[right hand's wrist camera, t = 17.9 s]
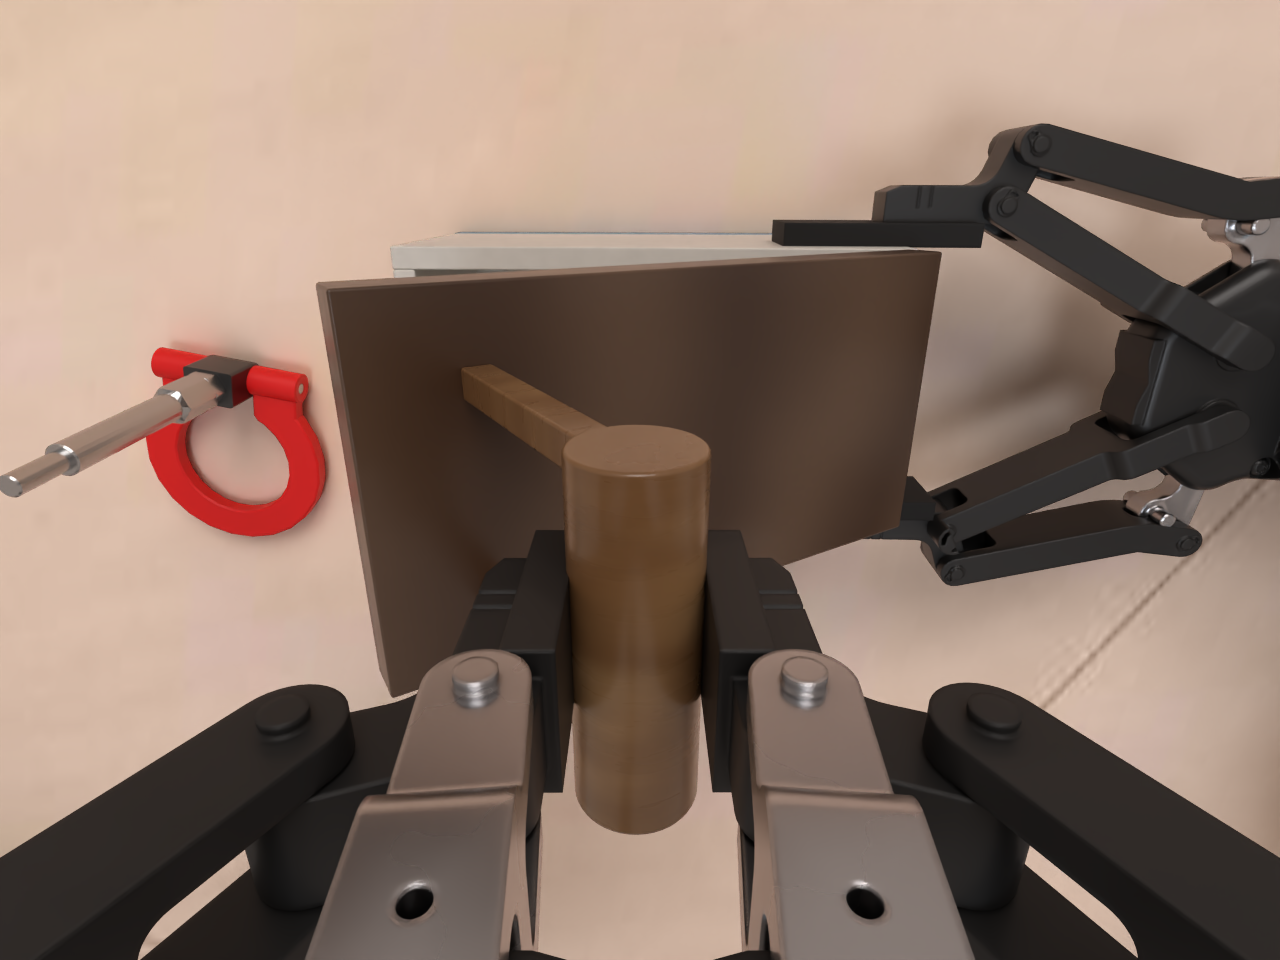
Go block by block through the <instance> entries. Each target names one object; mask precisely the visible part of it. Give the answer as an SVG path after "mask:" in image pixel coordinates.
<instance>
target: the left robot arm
mask: <svg viewBox="0 0 1280 960" xmlns="http://www.w3.org/2000/svg"><path fill="white" fill-rule="evenodd" d="M988 156H989V158H988V159H987V161H986V163H985V165H984V167H983V169H982V171H981V172H980V174H979V175H978V176H977V177H976V178H975V179H974V180H973V181H971V182H970V183H968V184H965V185H895V186H888V187H886V188H883V189H881V190H878V191H876V192H875V196H874V204H873V213H872V220H773V228H772V241H773V242H775V243H777V244H779V245H782V246H851V247H924V248H981V244H982V238H983V233H984V232H986V233H988V234H989V235H991V236H993V237H994V238H996V239H998V240H999V241H1001V242H1003V243H1004V244H1006V245H1007V246H1009V247H1011V248H1012V249H1014V250H1016V251H1017V252H1019V253H1021V254H1022V255H1024V256H1026V257H1027V258H1029V259H1030V260H1032V261H1034V262H1035V263H1037V264H1039V265H1040V266H1042V267H1044V268H1045V269H1047V270H1048V271H1050V272H1052V273H1053V274H1055V275H1057V276H1058V277H1060V278H1062V279H1063V280H1065V281H1067V282H1068V283H1070V284H1071V285H1073V286H1075V287H1076V288H1078V289H1080V290H1081V291H1083V292H1085V293H1086V294H1088V295H1090V296H1091V297H1093V298H1094V299H1096V300H1098V301H1099V302H1100V303H1101V305H1102V306H1103V307H1105V308H1106V309H1108V310H1110V311H1111V312H1113V313H1115V314H1116V315H1118V316H1120V317H1121V318H1123V319H1124V320H1126V321H1128V322H1129V323H1131V325H1130V327H1129V328H1128V330H1120V333H1119V337H1118V341H1117V344H1116V348H1115V372H1114V374H1113V376H1112V378H1111V380H1110V382H1109V384H1108V385H1107V387H1106V389H1105V391H1104V395H1103V399H1102V403H1101V407H1100V410H1102V411H1101V412H1098V413H1096V414H1094V415H1091V416H1089V417H1087V418H1085V419H1082V420H1080V421H1078V422H1076V423H1074V424H1073V425H1072V426H1071V427H1070V431H1068V432H1067V433H1065V434H1063V435H1060V436H1058V437H1056V438H1053V439H1051V440H1049V441H1046V442H1044V443H1042V444H1039V445H1037V446H1035V447H1032V448H1030V449H1028V450H1025V451H1023V452H1021V453H1018V454H1016V455H1014V456H1011V457H1009V458H1007V459H1004V460H1002V461H1000V462H997V463H995V464H993V465H990V466H988V467H986V468H983V469H981V470H979V471H976V472H974V473H972V474H969V475H967V476H965V477H962V478H960V479H958V480H955V481H953V482H951V483H948V484H946V485H944V486H941V487H939V488H937V489H934V490H932V491H930V492H926V491H925V490H924V488H923V487H922V486H921V485H920V484H919V483H918V482H917V481H916V479H915V478H914V477H913V476H907V479H906V485H905V491H904V498H903V504H902V511H901V517H900V523H899V526H898V527H896V528H893V529H890V530H887V531H884V532H881V533H878V534H875V535H872V536H869V537H866V538H863V539H870V538H871V539H901V540H920V541H921V546H920V548H921V551H922V553H923V554H924V556H925V557H926V559H927V560H928V561H929V563H930V564H931V566H932V567H933V568H934V570H935V571H936V573H937V574H938V575H939V577H940V578H941V579H942V581H943V582H944V583H945V584H947V585H950V586H958V585H964V584H969V583H974V582H980V581H985V580H990V579H996V578H1001V577H1006V576H1012V575H1017V574H1022V573H1028V572H1033V571H1038V570H1044V569H1049V568H1055V567H1060V566H1065V565H1071V564H1076V563H1081V562H1087V561H1092V560H1097V559H1103V558H1108V557H1113V556H1119V555H1124V554H1129V553H1135V552H1142V553H1151V554H1159V555H1168V556H1177V557H1184V556H1188V555H1191V554H1193V553H1194V552H1196V551H1197V550H1198V549H1199V547H1200V546H1201V543H1202V536H1201V534H1200V533H1199V532H1198V531H1197V530H1195V529H1194V528H1192V527H1190V526H1189V523H1190V521H1191V519H1192V517H1193V515H1194V512H1195V510H1196V508H1197V506H1198V503H1199V501H1200V499H1201V497H1202V494H1203V492H1204V490H1210V489H1214V488H1217V487H1220V486H1222V485H1224V484H1227V483H1229V482H1232V481H1236V480H1239V479H1245V478H1252V479H1266V480H1280V177H1247V178H1235V177H1232V176H1228V175H1225V174H1221V173H1218V172H1214V171H1211V170H1207V169H1204V168H1200V167H1197V166H1193V165H1190V164H1186V163H1183V162H1179V161H1176V160H1172V159H1169V158H1165V157H1162V156H1159V155H1155V154H1152V153H1148V152H1145V151H1141V150H1138V149H1134V148H1131V147H1127V146H1124V145H1120V144H1117V143H1113V142H1110V141H1106V140H1103V139H1099V138H1096V137H1092V136H1089V135H1086V134H1082V133H1079V132H1075V131H1072V130H1068V129H1065V128H1061V127H1058V126H1054V125H1051V124H1036V125H1030V126H1025V127H1020V128H1014V129H1009V130H1005V131H1002V132H1000V133H998V134H997V135H996V136H995V137H994V138H993V139H992V141H991V143H990V144H989V149H988ZM1035 178H1038V179H1041V180H1045V181H1048V182H1052V183H1055V184H1059V185H1062V186H1066V187H1069V188H1073V189H1077V190H1080V191H1084V192H1087V193H1091V194H1094V195H1098V196H1101V197H1105V198H1109V199H1112V200H1116V201H1119V202H1123V203H1126V204H1130V205H1133V206H1137V207H1140V208H1144V209H1148V210H1151V211H1155V212H1158V213H1162V214H1165V215H1170V216H1174V217H1181V218H1195V219H1203V221H1202V224H1201V228H1202V229H1203V231H1205V232H1207V235H1208V237H1209V238H1210V239H1211V240H1213V241H1215V242H1220V243H1224V244H1226V245H1228V246H1229V248H1230V249H1231V252H1232V260H1229V261H1227V262H1225V263H1223V264H1221V265H1220V266H1218V267H1216V268H1215V269H1213V270H1211V271H1210V272H1208V273H1206V274H1205V275H1203V276H1201V277H1200V278H1198V279H1196V280H1195V281H1193V282H1191V283H1190V284H1188V285H1186V286H1185V287H1183V286H1180V285H1178V284H1175V283H1173V282H1170V281H1168V280H1166V279H1164V278H1162V277H1161V276H1159V275H1157V274H1156V273H1154V272H1153V271H1151V270H1149V269H1148V268H1146V267H1145V266H1143V265H1141V264H1140V263H1138V262H1137V261H1135V260H1133V259H1132V258H1130V257H1129V256H1127V255H1126V254H1124V253H1122V252H1121V251H1119V250H1118V249H1116V248H1114V247H1113V246H1111V245H1110V244H1108V243H1106V242H1105V241H1103V240H1102V239H1100V238H1098V237H1097V236H1095V235H1094V234H1092V233H1090V232H1089V231H1087V230H1086V229H1084V228H1082V227H1081V226H1079V225H1078V224H1076V223H1074V222H1073V221H1071V220H1070V219H1068V218H1066V217H1065V216H1063V215H1062V214H1060V213H1058V212H1057V211H1055V210H1054V209H1052V208H1050V207H1049V206H1047V205H1046V204H1044V203H1042V202H1041V201H1039V200H1038V199H1036V198H1035V197H1033V196H1031V195H1030V194H1028V193H1027V192H1028V190H1029V188H1030V186H1031V184H1032V183H1033V181H1034V179H1035ZM1156 469H1158V470H1159V471H1160V472H1161V473H1163V474H1164V475H1165V478H1164V479H1163V481H1162V482H1161V483H1160V484H1159V485H1158V486H1157V487H1155V488H1153V489H1150V490H1144V491H1139V492H1136V491H1128V492H1127V493H1125V495H1124V496H1123V500H1101V501H1094V502H1088V503H1083V504H1078V505H1072V506H1067V507H1062V508H1057V509H1052V510H1047V511H1042V512H1037V513H1032V514H1028V513H1030V512H1033V511H1035V510H1038V509H1040V508H1043V507H1045V506H1047V505H1050V504H1052V503H1055V502H1057V501H1060V500H1062V499H1065V498H1067V497H1069V496H1072V495H1074V494H1077V493H1079V492H1082V491H1084V490H1087V489H1089V488H1091V487H1094V486H1096V485H1099V484H1101V483H1104V482H1106V481H1109V480H1113V479H1120V480H1127V479H1133V478H1136V477H1139V476H1141V475H1144V474H1146V473H1149V472H1151V471H1154V470H1156ZM1026 514H1027V515H1026Z"/></svg>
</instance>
